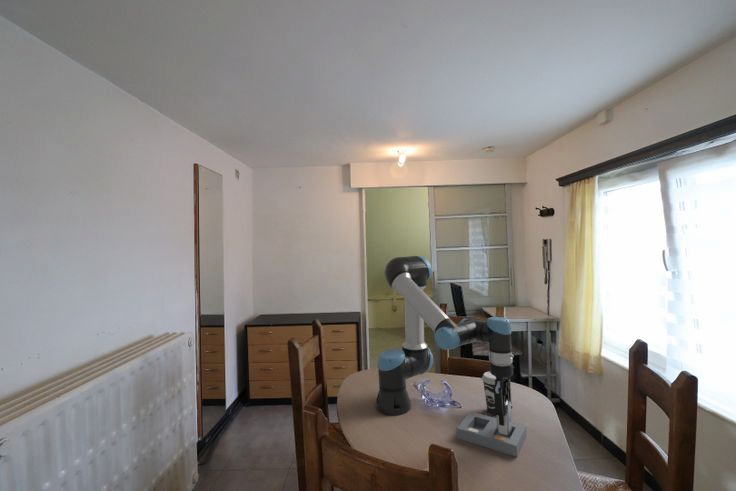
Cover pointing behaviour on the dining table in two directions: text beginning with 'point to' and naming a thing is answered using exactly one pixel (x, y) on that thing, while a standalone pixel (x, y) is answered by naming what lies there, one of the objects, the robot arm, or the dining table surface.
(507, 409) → the plug
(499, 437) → the socket board
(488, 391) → the coffee cup
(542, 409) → the dining table surface
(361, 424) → the dining table surface
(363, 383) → the dining table surface
